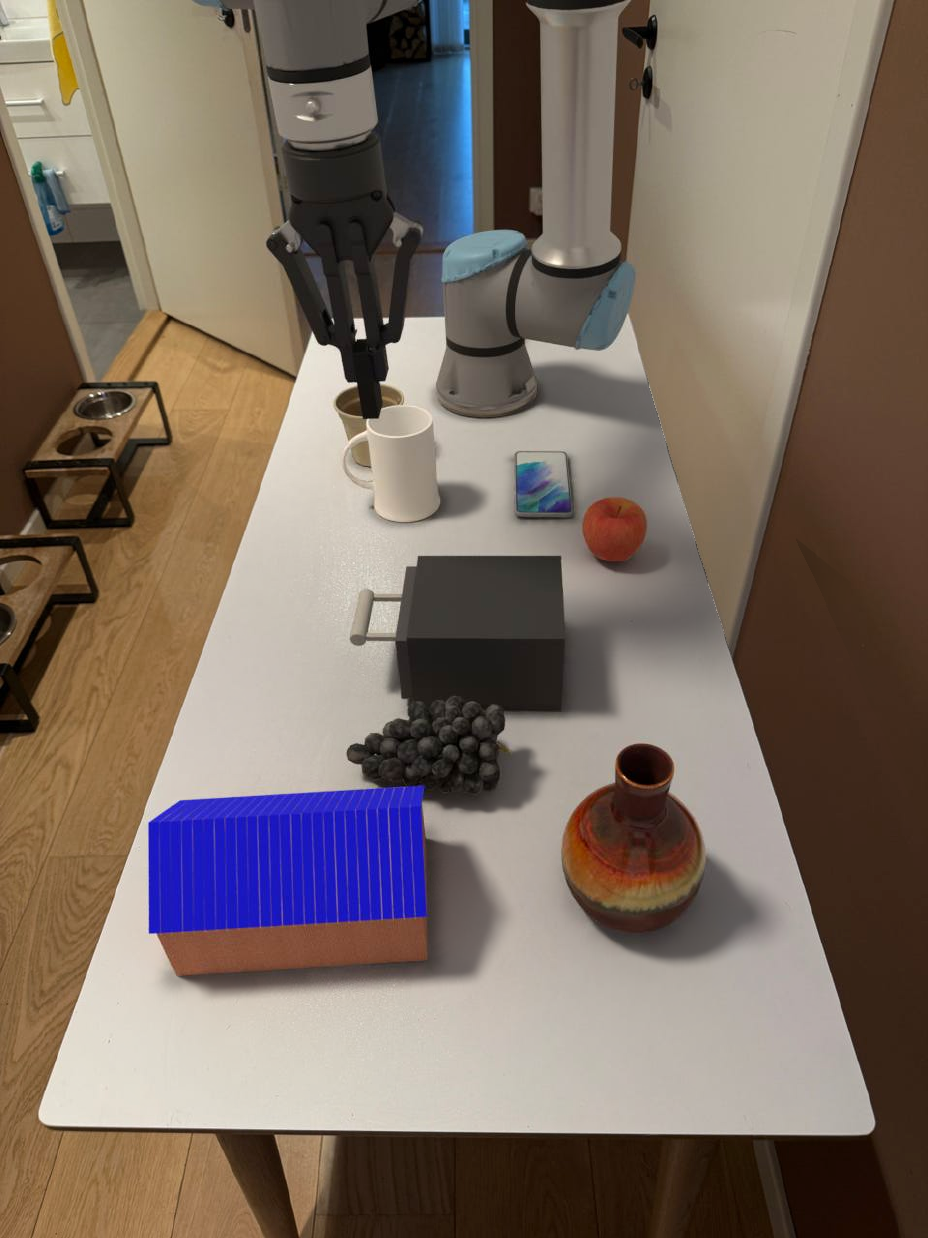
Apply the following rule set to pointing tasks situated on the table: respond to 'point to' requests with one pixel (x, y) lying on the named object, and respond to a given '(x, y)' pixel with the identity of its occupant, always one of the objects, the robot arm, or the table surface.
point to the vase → (634, 846)
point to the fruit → (437, 747)
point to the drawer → (361, 633)
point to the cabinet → (488, 631)
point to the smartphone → (542, 484)
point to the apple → (614, 528)
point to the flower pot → (353, 420)
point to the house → (290, 880)
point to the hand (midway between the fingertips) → (372, 410)
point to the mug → (400, 463)
